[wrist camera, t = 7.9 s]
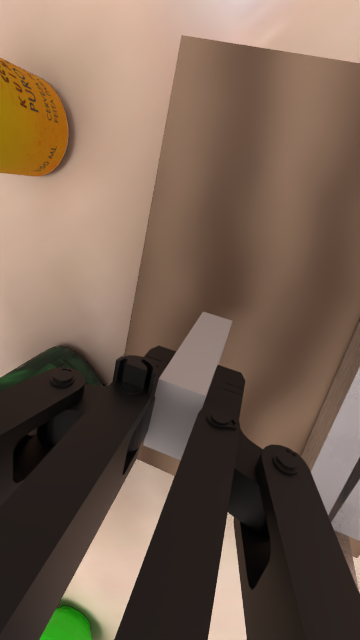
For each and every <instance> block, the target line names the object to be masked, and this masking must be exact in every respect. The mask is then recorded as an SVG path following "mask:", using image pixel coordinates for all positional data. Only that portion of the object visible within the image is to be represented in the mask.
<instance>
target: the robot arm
mask: <svg viewBox="0 0 360 640" xmlns="http://www.w3.org/2000/svg"><path fill="white" fill-rule="evenodd" d="M231 324H232V320H229V319H225V318H222V317H219V316H216V315H213V314H209V313H206V312H202V314H201V315H200V317H199V318H198V320H197V322H196V323H195V325H194V326H193V328H192V329H191V331H190V332H189V334H188V335H187V337H186V338H185V340H184V341H183V343H182V344H181V346H180V347H179V349H178V350H177V351H174V350H171V349H168V348H165V347H162V346H157V347H154V348H152V349H150V350H149V351H148V352H147V353H146V355H145V356H144V357H141V356H137V355H127V356H122V357H120V358H118V359H117V360H116V364H115V371H114V377H113V382H112V383H111V384H110V385H109V386H96V385H89V384H85V377H84V375H83V374H82V373H81V372H79V371H77V370H75V369H73V368H66V367H61V368H54V369H50V370H47V371H45V372H43V373H41V374H39V375H37V376H34V377H32V378H30V379H28V380H26V381H24V382H22V383H19V384H17V385H15V386H13V387H11V388H9V389H6V390H4V391H2V392H0V640H39V639H40V638H41V636H42V634H43V632H44V630H45V628H46V626H47V624H48V623H49V621H50V619H51V617H52V615H53V613H54V611H55V610H56V608H57V606H58V604H59V602H60V600H61V598H62V597H63V595H64V593H65V591H66V589H67V587H68V585H69V583H70V582H71V580H72V578H73V576H74V574H75V572H76V570H77V569H78V567H79V565H80V563H81V561H82V559H83V557H84V555H85V554H86V552H87V550H88V548H89V546H90V544H91V542H92V541H93V539H94V537H95V535H96V533H97V531H98V529H99V528H100V526H101V524H102V522H103V520H104V518H105V516H106V514H107V513H108V511H109V509H110V507H111V505H112V503H113V501H114V500H115V498H116V496H117V494H118V492H119V490H120V488H121V486H122V485H123V483H124V481H125V479H126V477H127V475H128V473H129V472H130V470H131V468H132V466H133V464H134V462H135V460H136V459H137V456H138V452H139V448H140V445H141V443H142V441H143V439H144V437H145V440H144V444H143V445H144V446H146V447H149V448H151V449H154V450H156V451H159V452H161V453H164V454H166V455H169V456H171V457H174V458H176V459H179V460H181V461H180V464H179V466H178V469H177V472H176V474H175V477H174V480H173V483H172V485H171V488H170V491H169V493H168V496H167V499H166V501H165V504H164V507H163V510H162V512H161V515H160V518H159V520H158V523H157V526H156V529H155V531H154V534H153V537H152V539H151V542H150V545H149V547H148V550H147V553H146V556H145V558H144V561H143V564H142V566H141V569H140V572H139V575H138V577H137V580H136V583H135V585H134V588H133V591H132V593H131V596H130V599H129V602H128V604H127V607H126V610H125V612H124V615H123V618H122V621H121V623H120V626H119V629H118V631H117V634H116V637H115V639H114V640H208V634H209V628H210V621H211V615H212V609H213V602H214V596H215V589H216V583H217V577H218V570H219V564H220V557H221V551H222V545H223V538H224V532H225V525H226V519H227V512H229V513H230V514H231V515H232V516H234V530H235V538H236V547H237V556H238V565H239V573H240V582H241V591H242V599H243V608H244V617H245V626H246V634H247V640H360V594H359V591H358V589H357V586H356V584H355V581H354V579H353V576H352V574H351V571H350V569H349V566H348V564H347V561H346V559H345V556H344V554H343V551H342V549H341V546H340V544H339V541H338V539H337V536H336V534H335V531H334V529H333V526H332V524H331V521H330V519H329V516H328V514H327V511H326V509H325V506H324V504H323V501H322V499H321V496H320V494H319V491H318V489H317V486H316V484H315V481H314V479H313V476H312V474H311V472H310V469H309V467H308V465H307V464H306V462H305V460H304V459H302V458H301V457H300V456H299V455H298V454H297V453H296V452H294V451H293V450H291V449H289V448H287V447H284V446H282V445H273V444H271V445H269V446H266V447H265V448H264V449H262V448H260V447H259V446H257V445H256V444H254V443H253V442H252V441H250V440H249V439H248V438H247V437H246V436H245V435H244V433H243V432H242V430H241V428H240V423H239V417H240V411H241V405H242V399H243V393H244V387H245V379H244V377H243V375H242V373H241V372H238V371H235V370H232V369H229V368H226V367H223V366H220V365H219V362H220V359H221V356H222V353H223V350H224V346H225V343H226V340H227V337H228V334H229V331H230V327H231Z"/></svg>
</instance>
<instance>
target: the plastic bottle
mask: <svg viewBox="0 0 360 640" xmlns="http://www.w3.org/2000/svg"><path fill="white" fill-rule="evenodd" d="M90 629H91V628H90V624H89V621H88V620H87V619H86V618H85V617H84V615H83V614H82V613H81V612H79V611H77V610H75V609H74V608H72V607H68V606H62V607H61V608H57V609H56V610H55V611H54V613H53V615H52V617H51V619H50V621H49V623H48V624H47V626H46V628H45V630H44V632H43V634H42V636H41V638H40V639H39V640H92V637H91V632H90Z"/></svg>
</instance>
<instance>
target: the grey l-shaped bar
mask: <svg viewBox="0 0 360 640" xmlns="http://www.w3.org/2000/svg"><path fill="white" fill-rule="evenodd" d="M328 516H329V519H330V521H331V524H332V526H333V529H334V531H335V534H336V536H337V539H338V541H339V544H340V546H341V549H342V551H343V554H344V556H345V559H346V561H347V564H348V566H349V569H350V571H351V574H352V576H353V579H354V581H355V584H356V586H357V589H358V584H357V579H356V573H355V568H354V562H353V557H352V551H351V546H350V541H349V537H351V538H354V539H356V540H358V541H360V457H359V459H358V461H357V463H356V465H355V466H354V468H353V470H352V472H351V474H350V476H349V478H348V480H347V481H346V483H345V485H344V487H343V489H342V491H341V493H340V494H339V496H338V498H337V500H336V502H335V504H334V506H333V508H332V509H331V511H330V513H329V515H328Z"/></svg>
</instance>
